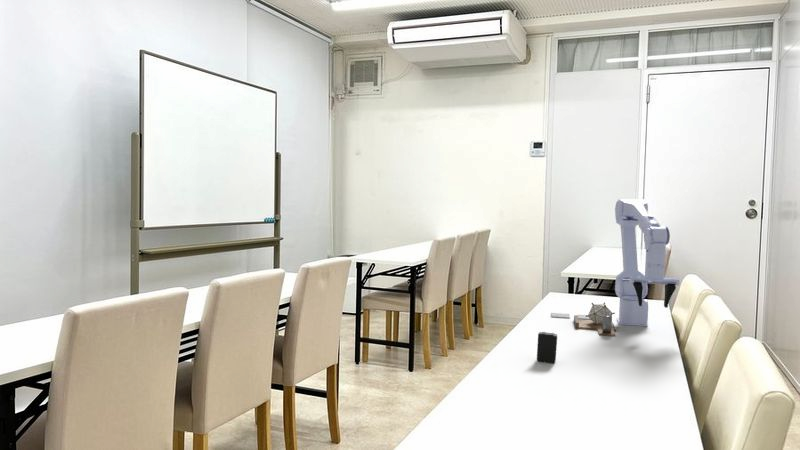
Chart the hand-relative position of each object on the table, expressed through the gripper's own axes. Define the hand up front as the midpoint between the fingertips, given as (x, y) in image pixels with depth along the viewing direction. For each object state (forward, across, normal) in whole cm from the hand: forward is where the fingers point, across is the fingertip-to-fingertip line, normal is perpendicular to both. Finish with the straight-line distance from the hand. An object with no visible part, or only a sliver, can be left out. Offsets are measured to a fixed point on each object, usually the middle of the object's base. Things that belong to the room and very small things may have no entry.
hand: (652, 306), depth 194 cm
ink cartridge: (+11, -33, -36) cm, 50 cm away
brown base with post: (+10, -17, +8) cm, 21 cm away
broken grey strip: (+10, -23, +23) cm, 34 cm away
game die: (+10, -15, +12) cm, 22 cm away
